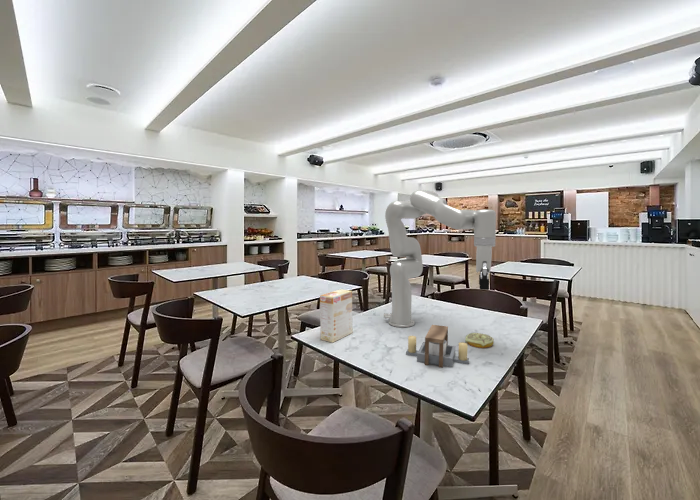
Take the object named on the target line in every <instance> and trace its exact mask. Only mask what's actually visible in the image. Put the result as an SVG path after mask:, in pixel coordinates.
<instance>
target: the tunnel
mask: <svg viewBox="0 0 700 500" xmlns="http://www.w3.org/2000/svg"><path fill="white" fill-rule="evenodd" d="M448 336H449V326H447V325H439V324H438V325H436V324H431V326H430V328H429V329H428V331H427V333H426V335H425V337H424V342H425V352H424V353H425V363H424V366H429V365H430V364H429V342H437V343H439V365H438V368H443V367H444V366H443V342H444V339H445V340H446V341H447V344H446V345H449V344H448V343H449V341H448V340H449V337H448Z"/></svg>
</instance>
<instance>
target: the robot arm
mask: <svg viewBox="0 0 700 500" xmlns="http://www.w3.org/2000/svg"><path fill="white" fill-rule="evenodd" d="M426 214H428V215H430V216H432V217H433V218H434V219H435V220H436V221H437V222H438V223H440V224H441V225H445V226H446V227H449V228H451V229H453V230H473V245H474V246H473V247H476V253H475V254H476V256H475V259H476V260H475V261H476V262H475V264H476V265H475V266H476V267H475V269H476V270H475V271H476V273H477V274H478V273H479V275H478V282H479V283H478V285H479V290H483V291H484V290H485V291H489V290H490V279H489V278H490V277H489V274H490V273H491V269H492V260H493V259H492V257H493V256H492V255H493V254H492V251H493V248H494V247H496V233H497V231H496V230H497V229H496V228H497V226H496V225H497V212H496V211H495V210H494V209H477V210H475V209H474V210H471V209H470V210H469V209H457V208H454V207H452V206H450V205H448V204H447V200H446V199H445V198H444V197H440V196H439V194H438V193H437V192H435V191H433V190H425V189H418V190H417V189H416V190H415V191H413V192H412V193H411V195H410V197H409V200H395V201H392V202H391V203H389V204H388V206H387V207H386V208H385V215H384V217H385V218H384V219H385V223H386V225H387V231H388V239H389V249H390V252H391V253H390V254H391V255H392V256H393V257H396V258H403V257H404V258H405V259H398V260H395V261H393V262H392V263H391V264H390V267H389V274H390V281H391V313H385V312H384V314H383V318H384V319H388V324H389V325H390V326H392V327H396V328H408V327H409V328H410V327H413V326H414V325H415V320H413V319H412V302H413V301H412V295H413V294H412V285H411V282H410V280H409V279H413V278H418V277H419V276H421V275H422V273H423V270H424V265H423V264H424V263H423V255H422V249H421V244H420V242H419V241H418V240H417V238H415V237H412V236H411V237H410V236H408V235H407V229H406V226H405V224H404V223H403V221H402V219H408V220H409V219H411V220H413V219H414V220H415V219H418V218H421V217H422V216H424V215H426Z"/></svg>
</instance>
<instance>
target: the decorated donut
mask: <svg viewBox="0 0 700 500" xmlns="http://www.w3.org/2000/svg"><path fill="white" fill-rule="evenodd" d="M464 339H465V340H464V341H465V343H467V344H468V345H469V346H470V347H473V348H476V349H477V348H478V349H486V348H487V349H488V348H491V347H492V346H493V345H494V343H495V341H494V338H493V337H492V336H490V335H489V334H486V333H478V332H471V333H468V334H467V335H466V336H465V338H464Z"/></svg>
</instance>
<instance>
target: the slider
mask: <svg viewBox="0 0 700 500" xmlns="http://www.w3.org/2000/svg"><path fill="white" fill-rule="evenodd" d="M407 337H408V338H407V344H408V345H407V346H408V347H407V349H406V352H405V355H406V356H413V357H414V356H415V357H416V362H418V363H424V364H425V341H423V342H422V343H421V345H420V347H419V348H418V350H417V336H416V335H409V336H407ZM468 345H469V344H468V343H467V342H463V341H462V342H458V351H457V352H458V356H457V355H456V345H451V344H448V345H446V353H445V356H443V367H450V368H453V366H454V363H458V364H463V365H464V364H465V365H469V362H470V358H469V357H468V347H469V346H468ZM446 355H449V356H446ZM430 364H431V365H436V366H437V365H438V366H439V355H432V354H429V365H430Z"/></svg>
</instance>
